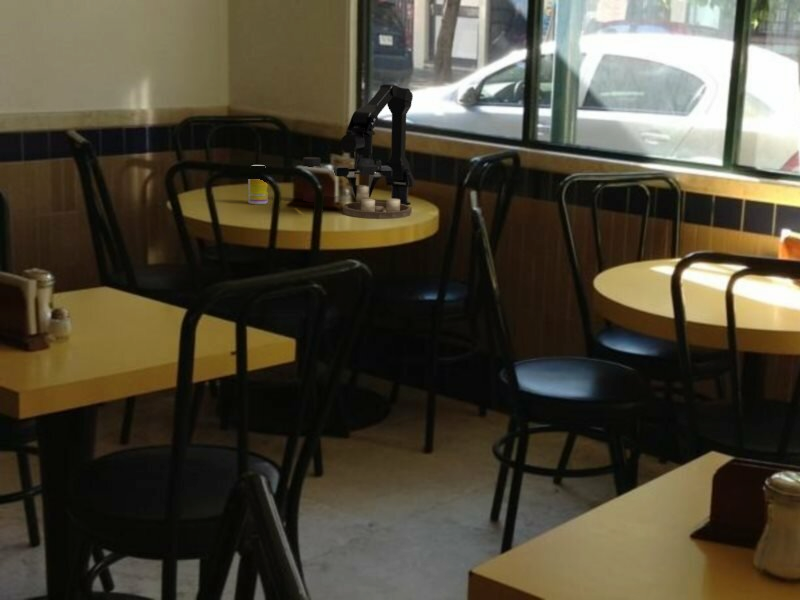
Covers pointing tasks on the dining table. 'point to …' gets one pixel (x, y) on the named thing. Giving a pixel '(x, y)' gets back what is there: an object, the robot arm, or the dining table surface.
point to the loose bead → (362, 192)
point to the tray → (375, 215)
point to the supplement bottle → (257, 191)
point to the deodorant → (311, 161)
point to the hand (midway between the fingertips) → (362, 197)
